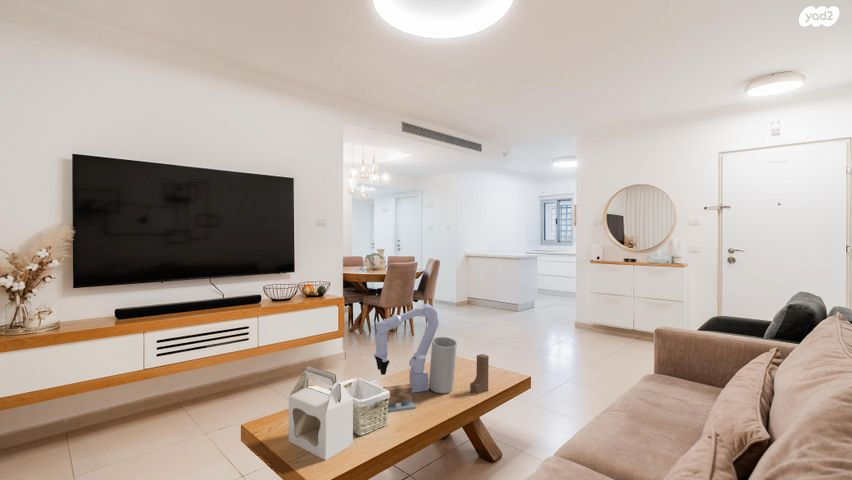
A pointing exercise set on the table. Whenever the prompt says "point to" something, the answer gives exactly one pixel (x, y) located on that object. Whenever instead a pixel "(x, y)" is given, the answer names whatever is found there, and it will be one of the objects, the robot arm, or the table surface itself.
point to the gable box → (320, 415)
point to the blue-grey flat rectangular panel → (404, 406)
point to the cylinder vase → (442, 364)
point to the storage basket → (367, 405)
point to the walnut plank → (399, 393)
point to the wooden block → (480, 375)
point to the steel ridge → (397, 404)
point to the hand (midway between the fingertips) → (381, 371)
